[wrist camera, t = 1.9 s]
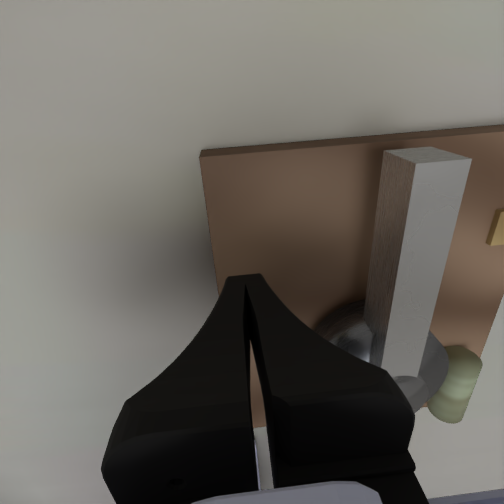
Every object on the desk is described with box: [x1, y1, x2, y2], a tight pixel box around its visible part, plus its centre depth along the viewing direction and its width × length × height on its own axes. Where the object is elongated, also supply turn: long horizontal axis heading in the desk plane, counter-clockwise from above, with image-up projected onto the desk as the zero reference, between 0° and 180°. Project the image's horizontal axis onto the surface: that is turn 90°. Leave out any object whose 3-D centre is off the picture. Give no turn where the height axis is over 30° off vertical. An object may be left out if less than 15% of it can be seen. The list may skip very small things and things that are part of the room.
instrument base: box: [199, 125, 504, 428], centre depth 16 cm, size 16×14×3 cm
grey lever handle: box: [314, 147, 472, 413], centre depth 13 cm, size 13×6×3 cm, turn 4°
